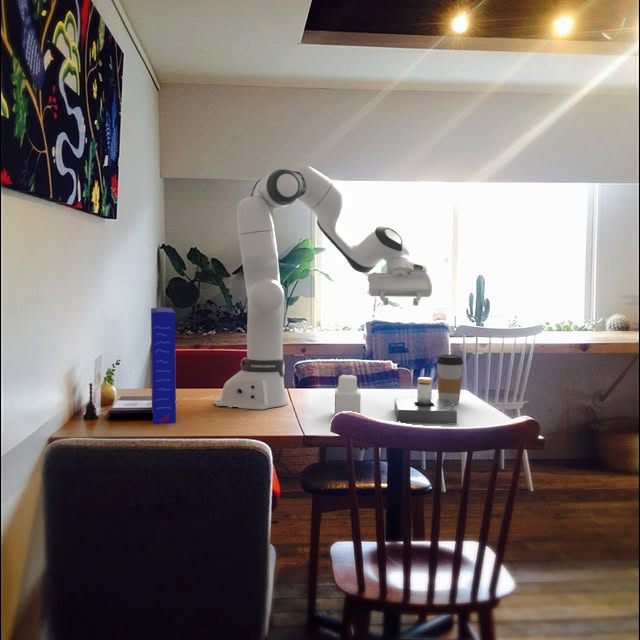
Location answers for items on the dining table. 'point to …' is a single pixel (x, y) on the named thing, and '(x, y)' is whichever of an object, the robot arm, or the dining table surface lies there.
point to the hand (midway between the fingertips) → (400, 304)
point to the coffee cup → (449, 377)
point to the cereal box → (163, 365)
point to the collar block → (425, 411)
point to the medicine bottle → (347, 394)
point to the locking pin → (424, 391)
